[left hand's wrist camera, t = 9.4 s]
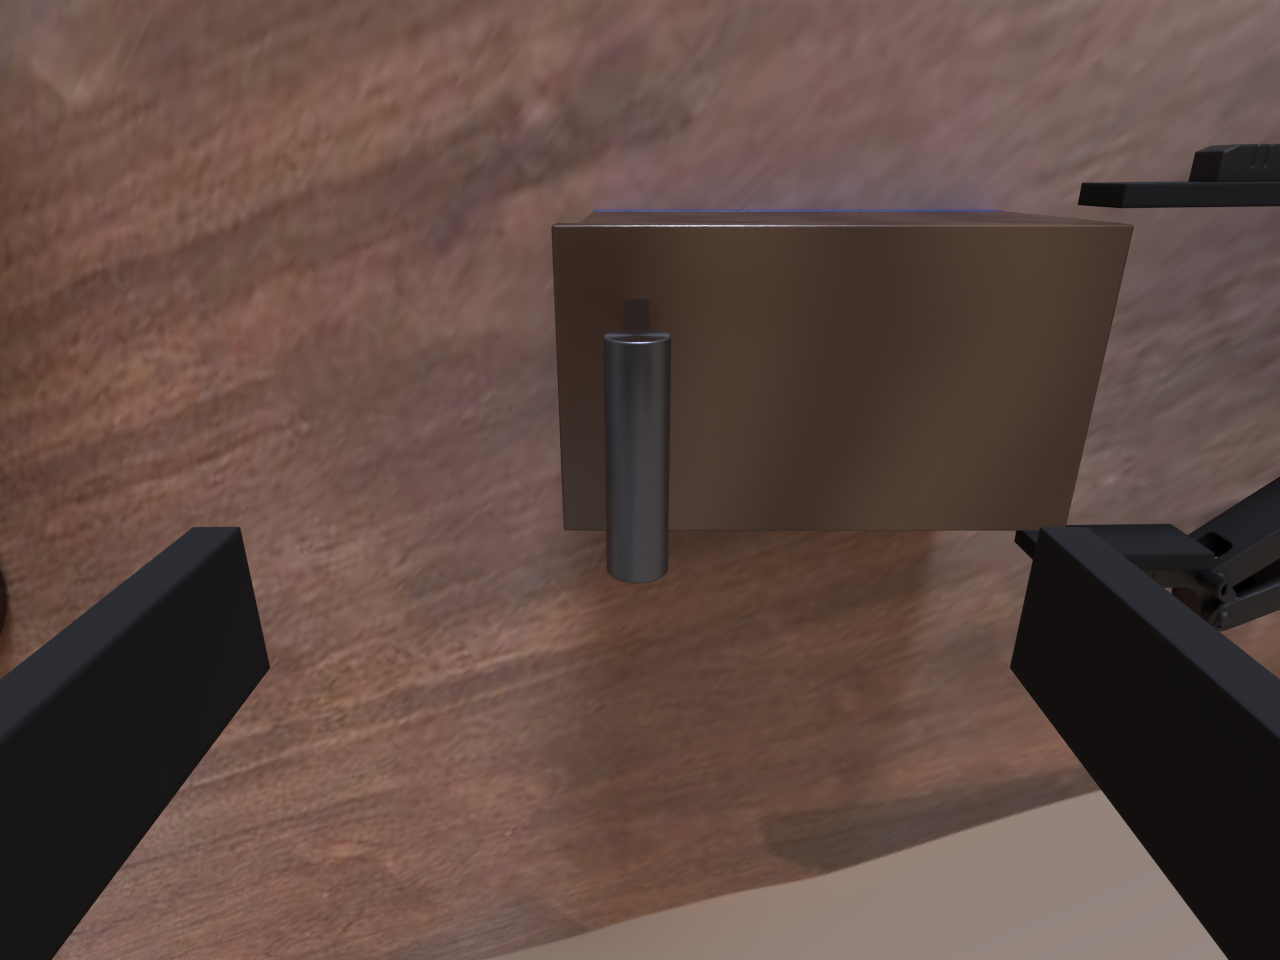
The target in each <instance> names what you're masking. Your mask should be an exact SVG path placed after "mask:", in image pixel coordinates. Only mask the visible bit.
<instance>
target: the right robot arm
mask: <svg viewBox="0 0 1280 960" xmlns="http://www.w3.org/2000/svg"><path fill="white" fill-rule="evenodd" d="M1078 205H1085V206H1099V207H1113V208H1168V207H1251V206H1280V144H1238V145H1218V146H1210V147H1207V148H1205V149H1202V150H1200V151H1197V152H1195V156H1194V160H1193V165H1192V169H1191V173H1190V177H1189V182H1110V183H1082V185H1081V191H1080V196H1079V201H1078ZM1066 527H1087V528H1088V529H1090V530H1091V531H1092V532H1094V533H1095V534H1096V535H1097V536H1099V537H1100V538H1101V539H1102V540H1104V541H1105V542H1106V543H1107V544H1109V545H1110V546H1111V547H1113V548H1114V549H1115V550H1116V551H1118V552H1119V553H1120V554H1121V555H1123V556H1124V557H1125V558H1126V559H1128V560H1129V561H1130V562H1131V563H1133V564H1134V565H1135V566H1137V567H1138V568H1139V569H1140V570H1142V571H1143V572H1144V573H1145V574H1147V575H1148V576H1149V577H1150V578H1152V579H1153V580H1154V581H1156V582H1157V583H1158V584H1159V585H1161V586H1162V587H1163V588H1172V595H1173V596H1174V597H1176V598H1177V599H1178V600H1180V601H1181V602H1182V603H1183V604H1185V605H1186V606H1187V607H1188V608H1190V609H1191V610H1192V611H1193V612H1195V613H1196V614H1197V615H1199V616H1200V617H1201V618H1202V619H1204V620H1205V621H1206V622H1207V623H1209V624H1210V625H1211V626H1212V627H1214V628H1215V629H1216V630H1218V631H1224V630H1228V629H1231V628H1233V627H1236V626H1238V625H1241V624H1244V623H1246V622H1249V621H1251V620H1254V619H1257V618H1259V617H1262V616H1265V615H1267V614H1270V613H1272V612H1275V611H1278V610H1280V477H1278V478H1277V479H1275V480H1274V481H1272V482H1271V483H1269V484H1267V485H1266V486H1264V487H1263V488H1261V489H1260V490H1258V491H1256V492H1255V493H1253V494H1252V495H1250V496H1249V497H1247V498H1245V499H1244V500H1242V501H1241V502H1239V503H1238V504H1236V505H1234V506H1233V507H1231V508H1230V509H1228V510H1227V511H1225V512H1223V513H1222V514H1220V515H1219V516H1217V517H1215V518H1214V519H1212V520H1211V521H1209V522H1208V523H1206V524H1204V525H1203V526H1201V527H1200V528H1198V529H1197V530H1195V531H1193V532H1192V533H1190V534H1189V535H1186V534H1185V533H1183V532H1182V531H1180V530H1179V529H1177V528H1176V527H1174V526H1173V525H1171V524H1133V525H1066ZM1038 534H1039V531H1016V535H1015V541H1014V542H1015V543H1016V544H1017V545H1018V546H1019V547H1020V548H1021V549H1022V550H1023V551H1024V552H1025V553H1027V554H1028V555H1029V556H1030V557H1031V558H1032V559H1033V558H1034V553H1035V548H1036V543H1037V539H1038ZM1214 557H1218V558H1214Z"/></svg>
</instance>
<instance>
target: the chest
mask: <svg viewBox="0 0 1280 960" xmlns="http://www.w3.org/2000/svg"><path fill="white" fill-rule="evenodd" d="M581 223H1112V222H1102V221H1092V220H1083V219H1073V218H1063V217H1054V216H1044V215H1034V214H1025V213H1015V212H1005V211H999V210H594V211H593V213H592V214H590V215H589V216H588V217H587V218H586V219H584V220H583V221H582V222H581Z"/></svg>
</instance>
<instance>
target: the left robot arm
mask: <svg viewBox="0 0 1280 960" xmlns="http://www.w3.org/2000/svg"><path fill="white" fill-rule="evenodd" d="M4 609H5V597H4V587H3V582H2V577H1V573H0V630H1V627H2V623H3V618H4ZM269 669H270V665H269V661H268V656H267V651H266V647H265V642H264V637H263V633H262V628H261V623H260V618H259V614H258V609H257V604H256V600H255V595H254V590H253V586H252V581H251V576H250V572H249V567H248V562H247V558H246V553H245V548H244V543H243V539H242V534H241V529H240V527H193V528H192V529H190V530H189V531H188V532H186V533H185V534H184V535H183V536H181V537H180V538H179V539H178V540H176V541H175V542H174V543H173V544H171V545H170V546H169V547H167V548H166V549H165V550H164V551H162V552H161V553H160V554H159V555H157V556H156V557H155V558H154V559H152V560H151V561H150V562H149V563H147V564H146V565H145V566H143V567H142V568H141V569H140V570H138V571H137V572H136V573H135V574H133V575H132V576H131V577H130V578H128V579H127V580H126V581H124V582H123V583H122V584H121V585H119V586H118V587H117V588H116V589H114V590H113V591H112V592H111V593H109V594H108V595H107V596H106V597H104V598H103V599H102V600H100V601H99V602H98V603H97V604H95V605H94V606H93V607H92V608H90V609H89V610H88V611H87V612H85V613H84V614H83V615H81V616H80V617H79V618H78V619H76V620H75V621H74V622H73V623H71V624H70V625H69V626H68V627H66V628H65V629H64V630H62V631H61V632H60V633H59V634H57V635H56V636H55V637H54V638H52V639H51V640H50V641H49V642H47V643H46V644H45V645H44V646H42V647H41V648H40V649H38V650H37V651H36V652H35V653H33V654H32V655H31V656H30V657H28V658H27V659H26V660H25V661H23V662H22V663H21V664H19V665H18V666H17V667H16V668H14V669H13V670H12V671H11V672H9V673H8V674H7V675H6V676H4V677H3V678H2V679H1V680H0V960H52V958H53V957H54V956H55V954H56V953H57V952H58V950H59V949H60V948H61V946H62V945H63V944H64V942H65V941H66V940H67V938H68V937H69V936H70V934H71V933H72V932H73V930H74V929H75V928H76V926H77V925H78V924H79V922H80V921H81V920H82V918H83V917H84V916H85V914H86V913H87V912H88V910H89V909H90V908H91V906H92V905H93V904H94V902H95V901H96V900H97V898H98V897H99V896H100V894H101V893H102V892H103V890H104V889H105V888H106V886H107V885H108V884H109V882H110V881H111V880H112V878H113V877H114V876H115V874H116V873H117V872H118V870H119V869H120V868H121V866H122V865H123V864H124V862H125V861H126V860H127V858H128V857H129V856H130V854H131V853H132V852H133V850H134V849H135V848H136V846H137V845H138V844H139V842H140V841H141V840H142V838H143V837H144V836H145V834H146V833H147V832H148V830H149V829H150V828H151V826H152V825H153V823H154V822H155V821H156V819H157V818H158V817H159V815H160V814H161V813H162V811H163V810H164V809H165V807H166V806H167V805H168V803H169V802H170V801H171V799H172V798H173V797H174V795H175V794H176V793H177V791H178V790H179V789H180V787H181V786H182V785H183V783H184V782H185V781H186V779H187V778H188V777H189V775H190V774H191V773H192V771H193V770H194V769H195V767H196V766H197V765H198V763H199V762H200V761H201V759H202V758H203V757H204V755H205V754H206V753H207V751H208V750H209V749H210V747H211V746H212V745H213V743H214V742H215V741H216V739H217V738H218V737H219V735H220V734H221V733H222V731H223V730H224V729H225V727H226V726H227V725H228V723H229V722H230V721H231V719H232V718H233V717H234V715H235V714H236V713H237V711H238V710H239V709H240V707H241V706H242V705H243V703H244V702H245V701H246V699H247V698H248V697H249V695H250V694H251V693H252V691H253V690H254V689H255V687H256V686H257V685H258V683H259V682H260V681H261V679H262V678H263V677H264V675H265V674H266V673H267V671H268V670H269ZM1010 669H1011V670H1012V671H1013V673H1014V674H1015V675H1016V677H1017V678H1018V679H1019V681H1020V682H1021V683H1022V685H1023V686H1024V687H1025V689H1026V690H1027V691H1028V693H1029V694H1030V695H1031V697H1032V698H1033V699H1034V701H1035V702H1036V703H1037V705H1038V706H1039V707H1040V709H1041V710H1042V711H1043V713H1044V714H1045V715H1046V717H1047V718H1048V719H1049V721H1050V722H1051V723H1052V725H1053V726H1054V727H1055V729H1056V730H1057V731H1058V733H1059V734H1060V735H1061V737H1062V738H1063V739H1064V741H1065V742H1066V743H1067V745H1068V746H1069V747H1070V749H1071V750H1072V751H1073V753H1074V754H1075V755H1076V757H1077V758H1078V759H1079V761H1080V762H1081V763H1082V765H1083V766H1084V767H1085V769H1086V770H1087V771H1088V773H1089V774H1090V775H1091V777H1092V778H1093V779H1094V781H1095V782H1096V783H1097V785H1098V786H1099V787H1100V789H1101V790H1102V791H1103V793H1104V794H1105V795H1106V797H1107V798H1108V799H1109V801H1110V802H1111V803H1112V805H1113V806H1114V807H1115V809H1116V810H1117V811H1118V813H1119V814H1120V815H1121V817H1122V818H1123V819H1124V821H1125V822H1126V823H1127V825H1128V826H1129V828H1130V829H1131V830H1132V831H1133V833H1134V834H1135V835H1136V837H1137V838H1138V840H1139V841H1140V842H1141V844H1142V845H1143V846H1144V848H1145V849H1146V850H1147V852H1148V853H1149V854H1150V856H1151V857H1152V858H1153V860H1154V861H1155V862H1156V864H1157V865H1158V866H1159V868H1160V869H1161V870H1162V871H1163V873H1164V874H1165V876H1166V877H1167V878H1168V880H1169V881H1170V882H1171V884H1172V885H1173V886H1174V888H1175V889H1176V890H1177V891H1178V893H1179V894H1180V896H1181V897H1182V898H1183V900H1184V901H1185V902H1186V904H1187V905H1188V906H1189V908H1190V909H1191V910H1192V911H1193V913H1194V914H1195V916H1196V917H1197V918H1198V920H1199V921H1200V922H1201V924H1202V925H1203V926H1204V928H1205V929H1206V930H1207V932H1208V933H1209V934H1210V936H1211V937H1212V938H1213V940H1214V941H1215V942H1216V944H1217V945H1218V946H1219V948H1220V949H1221V950H1222V952H1223V953H1224V954H1225V956H1226V957H1227V958H1228V960H1280V680H1279V679H1278V678H1277V677H1276V676H1274V675H1273V674H1272V673H1271V672H1269V671H1268V670H1267V669H1266V668H1264V667H1263V666H1262V665H1261V664H1259V663H1258V662H1257V661H1255V660H1254V659H1253V658H1252V657H1250V656H1249V655H1248V654H1247V653H1245V652H1244V651H1243V650H1242V649H1240V648H1239V647H1238V646H1236V645H1235V644H1234V643H1233V642H1231V641H1230V640H1229V639H1228V638H1226V637H1225V636H1224V635H1223V634H1221V633H1220V632H1219V631H1218V630H1216V629H1215V628H1214V627H1212V626H1211V625H1210V624H1209V623H1207V622H1206V621H1205V620H1204V619H1202V618H1201V617H1200V616H1199V615H1197V614H1196V613H1195V612H1193V611H1192V610H1191V609H1190V608H1188V607H1187V606H1186V605H1185V604H1183V603H1182V602H1181V601H1180V600H1178V599H1177V598H1176V597H1174V596H1173V595H1172V594H1171V593H1169V592H1168V591H1167V590H1166V589H1164V588H1163V587H1162V586H1161V585H1159V584H1158V583H1157V582H1156V581H1154V580H1153V579H1152V578H1150V577H1149V576H1148V575H1147V574H1145V573H1144V572H1143V571H1142V570H1140V569H1139V568H1138V567H1137V566H1135V565H1134V564H1133V563H1131V562H1130V561H1129V560H1128V559H1126V558H1125V557H1124V556H1123V555H1121V554H1120V553H1119V552H1118V551H1116V550H1115V549H1114V548H1113V547H1111V546H1110V545H1109V544H1107V543H1106V542H1105V541H1104V540H1102V539H1101V538H1100V537H1099V536H1097V535H1096V534H1095V533H1094V532H1092V531H1091V530H1090V529H1088V528H1087V527H1040V529H1039V534H1038V539H1037V543H1036V548H1035V553H1034V558H1033V562H1032V567H1031V572H1030V576H1029V581H1028V586H1027V590H1026V595H1025V600H1024V604H1023V609H1022V614H1021V618H1020V623H1019V628H1018V633H1017V637H1016V642H1015V647H1014V651H1013V656H1012V661H1011V665H1010Z"/></svg>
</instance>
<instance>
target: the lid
mask: <svg viewBox="0 0 1280 960" xmlns="http://www.w3.org/2000/svg"><path fill="white" fill-rule="evenodd" d="M1133 228H1134V227H1133V225H1130V224H1121V223H556V224H554V225H552V250H553V275H554V299H555V323H556V348H557V372H558V397H559V421H560V446H561V470H562V494H563V519H564V529H565V530H606V550H607V571H608V573H609V574H610V575H611V576H612V577H613V578H615V579H617V580H620V581H623V582H627V583H647V582H652V581H655V580H658V579H660V578H662V577H663V576H664V575H665V574H666V572H667V570H668V540H669V530H994V531H1039V529H1040V527H1066V523H1067V519H1068V514H1069V510H1070V506H1071V501H1072V497H1073V492H1074V488H1075V484H1076V479H1077V475H1078V470H1079V466H1080V461H1081V457H1082V453H1083V448H1084V444H1085V439H1086V435H1087V431H1088V426H1089V422H1090V417H1091V413H1092V409H1093V404H1094V400H1095V395H1096V391H1097V386H1098V382H1099V378H1100V373H1101V369H1102V364H1103V360H1104V356H1105V351H1106V347H1107V342H1108V338H1109V334H1110V329H1111V325H1112V320H1113V316H1114V311H1115V307H1116V303H1117V298H1118V294H1119V289H1120V285H1121V281H1122V276H1123V272H1124V267H1125V263H1126V259H1127V254H1128V250H1129V245H1130V241H1131V236H1132V232H1133Z"/></svg>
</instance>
